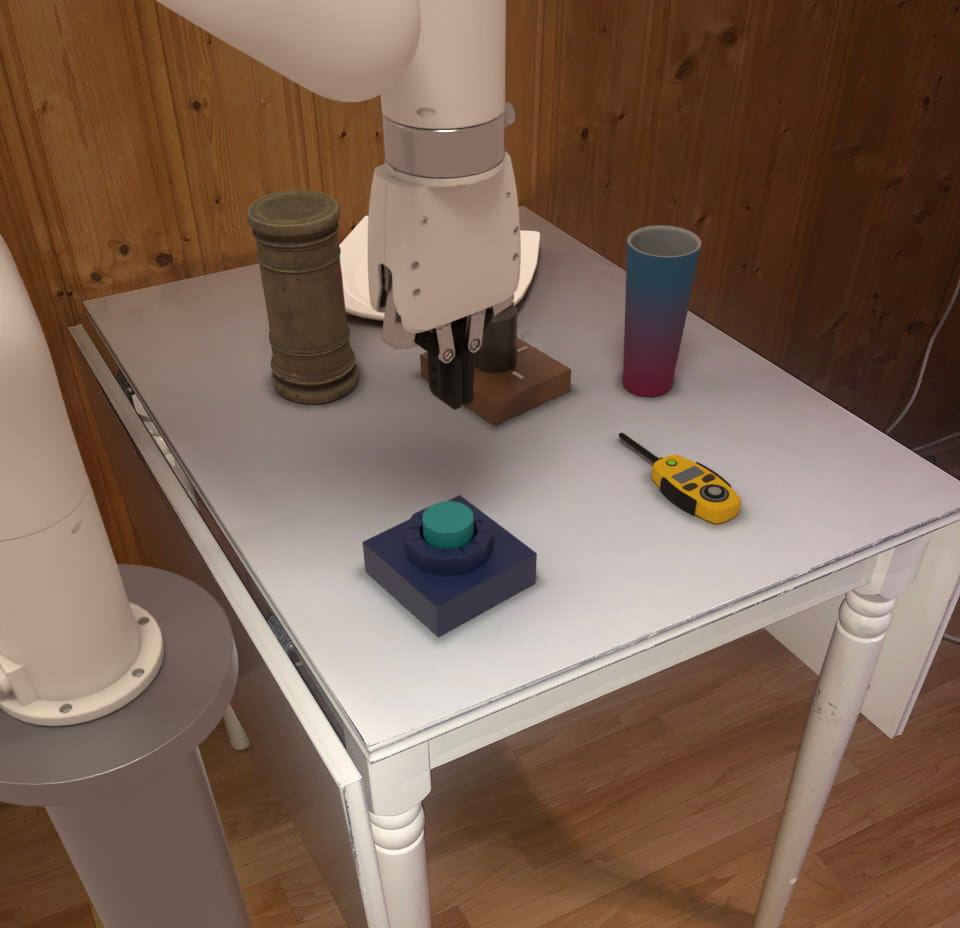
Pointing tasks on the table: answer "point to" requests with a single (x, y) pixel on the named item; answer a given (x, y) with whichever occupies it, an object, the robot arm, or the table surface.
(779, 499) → the table surface
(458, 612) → the teal button cap base
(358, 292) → the plate
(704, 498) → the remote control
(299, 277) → the container
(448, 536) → the teal button cap
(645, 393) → the cup
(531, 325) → the table surface
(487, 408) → the console
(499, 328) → the dial
